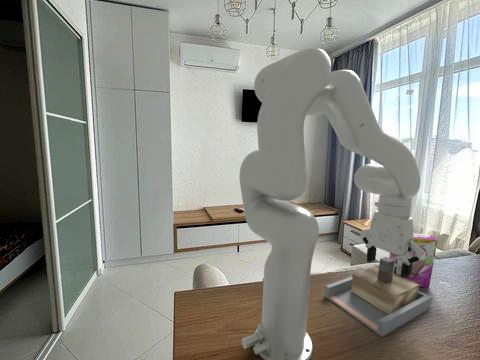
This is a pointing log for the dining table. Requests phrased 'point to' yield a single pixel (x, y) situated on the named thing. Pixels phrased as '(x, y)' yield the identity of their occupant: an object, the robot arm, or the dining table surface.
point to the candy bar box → (422, 267)
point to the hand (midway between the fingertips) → (387, 268)
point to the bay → (374, 308)
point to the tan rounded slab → (384, 287)
